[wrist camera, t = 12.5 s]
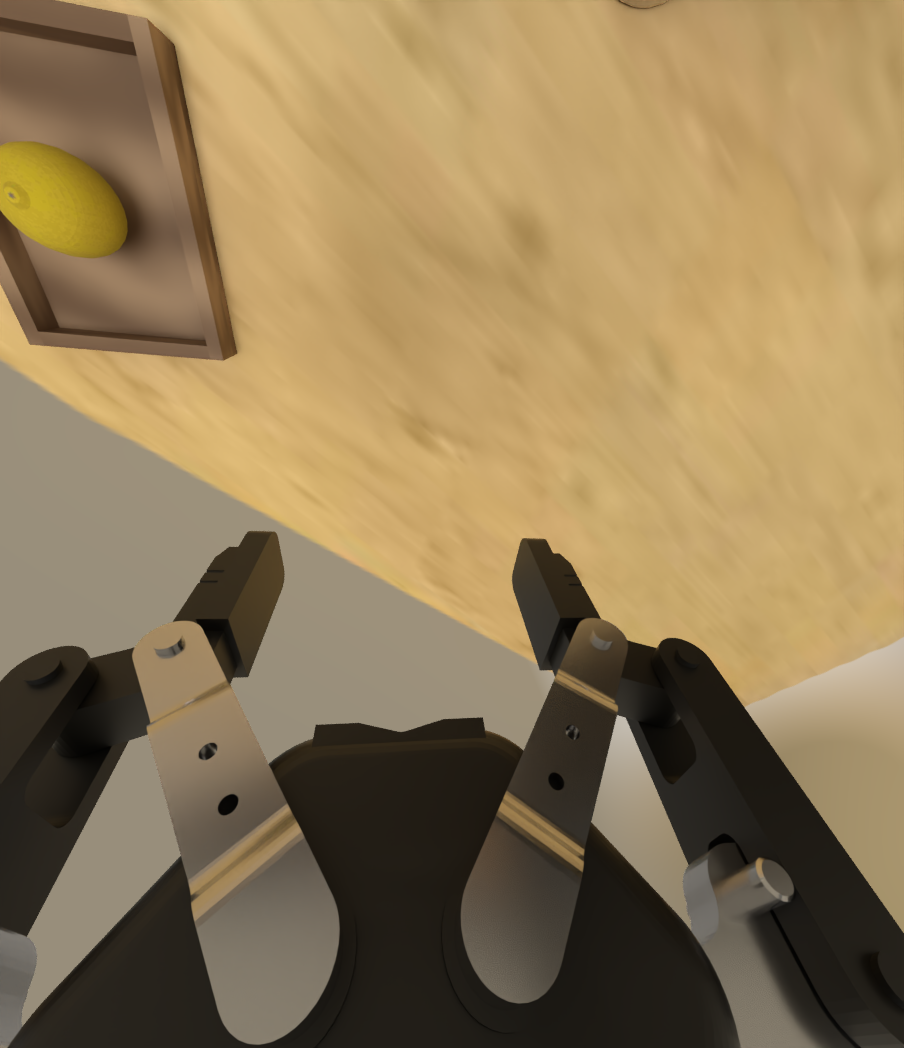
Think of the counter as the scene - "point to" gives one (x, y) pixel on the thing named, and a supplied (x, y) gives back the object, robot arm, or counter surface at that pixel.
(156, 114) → the tray
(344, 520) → the counter surface
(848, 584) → the counter surface
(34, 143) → the lemon
